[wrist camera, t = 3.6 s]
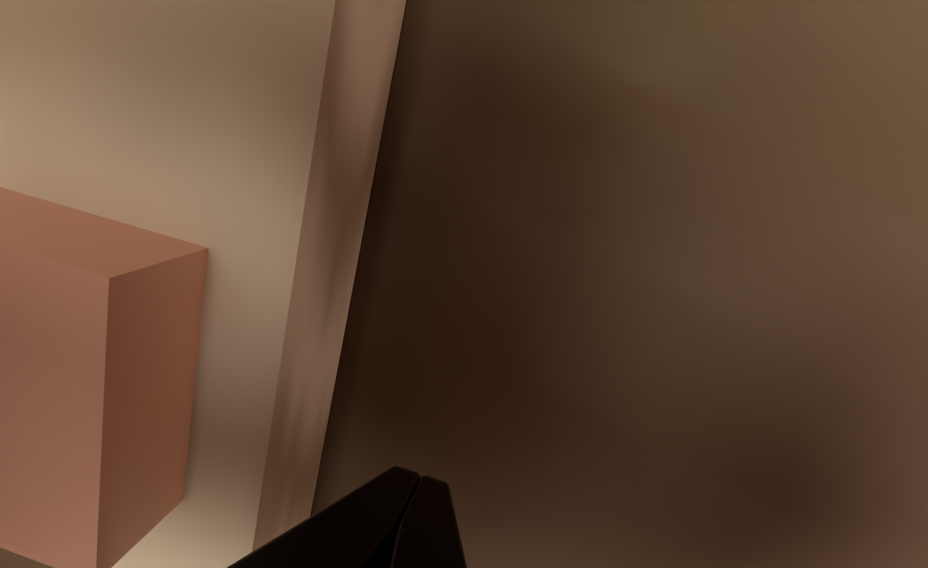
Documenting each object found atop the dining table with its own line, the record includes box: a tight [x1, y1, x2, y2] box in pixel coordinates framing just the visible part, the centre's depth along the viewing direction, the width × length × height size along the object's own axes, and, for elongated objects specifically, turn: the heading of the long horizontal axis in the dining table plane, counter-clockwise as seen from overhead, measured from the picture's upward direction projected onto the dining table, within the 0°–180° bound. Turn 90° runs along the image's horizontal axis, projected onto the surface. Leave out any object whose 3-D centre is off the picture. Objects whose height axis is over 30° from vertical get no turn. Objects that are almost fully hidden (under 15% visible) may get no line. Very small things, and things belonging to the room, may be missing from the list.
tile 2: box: [0, 187, 208, 568], centre depth 9 cm, size 5×5×2 cm
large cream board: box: [0, 0, 406, 568], centre depth 10 cm, size 20×12×3 cm, turn 166°
